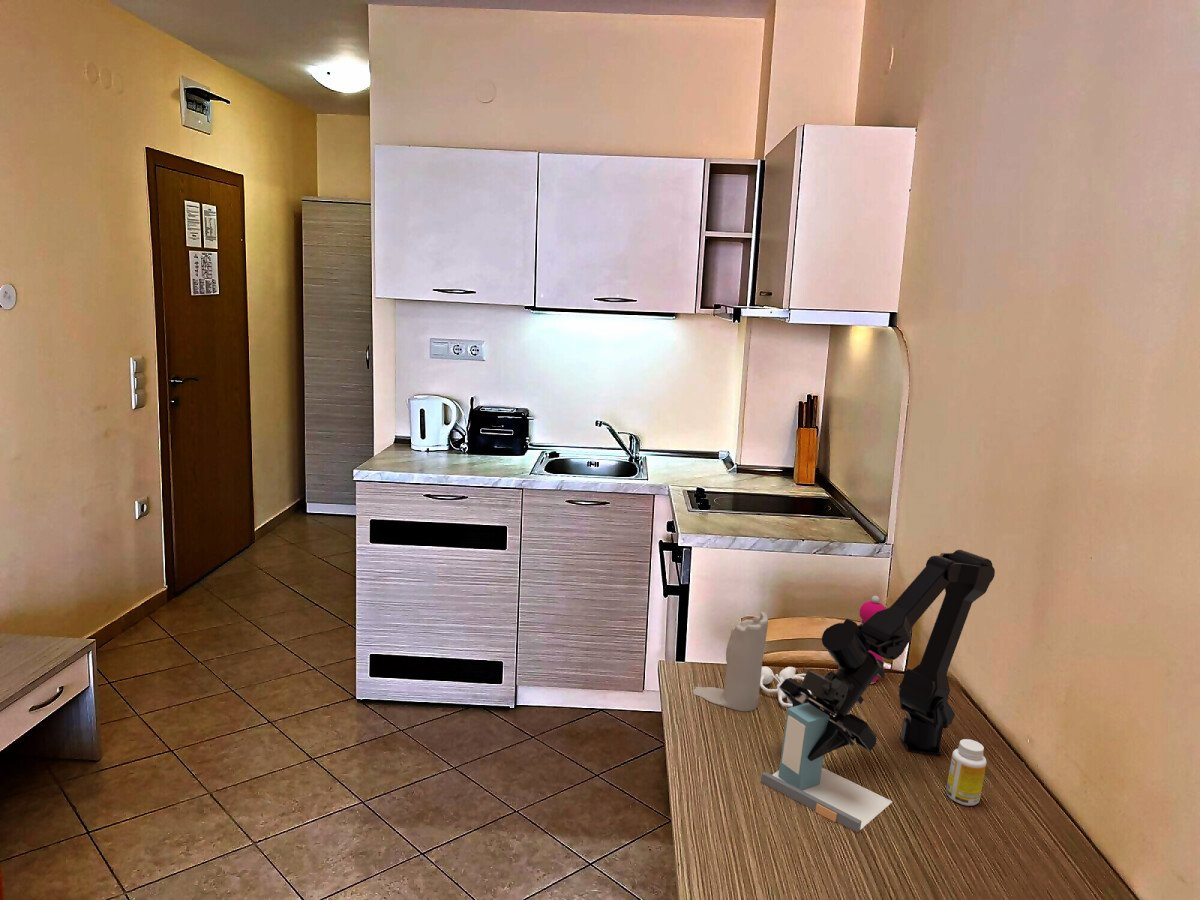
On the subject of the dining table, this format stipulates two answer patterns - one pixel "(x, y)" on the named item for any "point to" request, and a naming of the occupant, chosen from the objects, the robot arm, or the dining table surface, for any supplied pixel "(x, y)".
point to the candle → (741, 667)
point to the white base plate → (834, 798)
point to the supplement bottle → (966, 773)
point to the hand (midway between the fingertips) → (797, 751)
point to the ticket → (826, 812)
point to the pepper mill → (867, 612)
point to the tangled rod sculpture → (784, 674)
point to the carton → (802, 746)
